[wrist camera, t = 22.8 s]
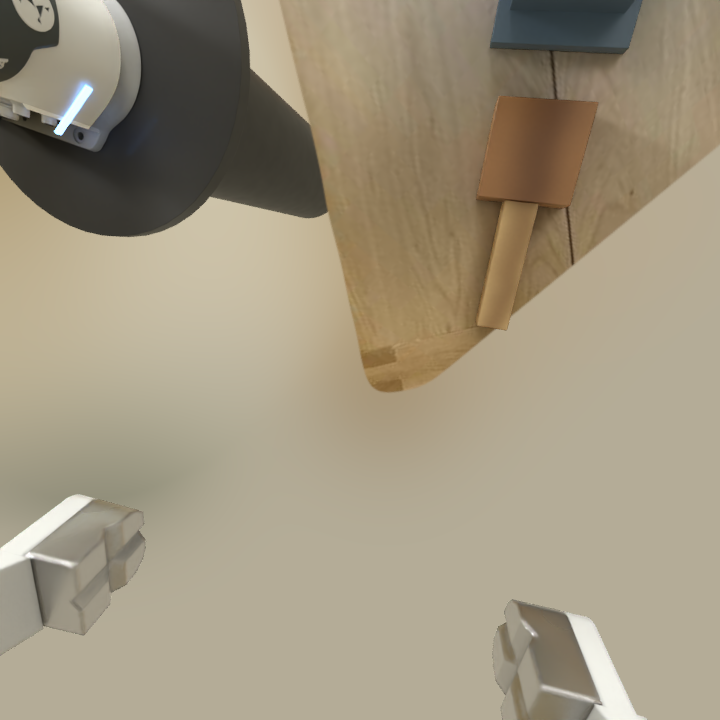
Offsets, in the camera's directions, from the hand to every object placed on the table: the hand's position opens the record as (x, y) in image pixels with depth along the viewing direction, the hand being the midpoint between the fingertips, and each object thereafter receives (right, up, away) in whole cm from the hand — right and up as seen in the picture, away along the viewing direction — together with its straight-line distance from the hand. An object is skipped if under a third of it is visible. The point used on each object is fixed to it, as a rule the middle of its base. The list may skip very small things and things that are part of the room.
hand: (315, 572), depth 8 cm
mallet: (+16, +18, +29) cm, 37 cm away
